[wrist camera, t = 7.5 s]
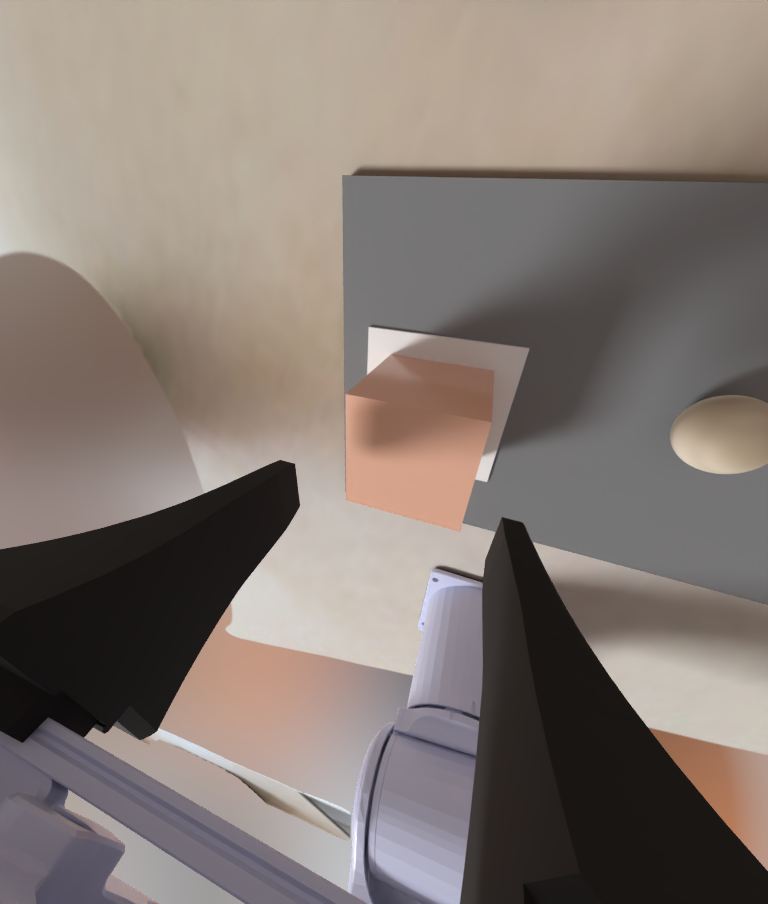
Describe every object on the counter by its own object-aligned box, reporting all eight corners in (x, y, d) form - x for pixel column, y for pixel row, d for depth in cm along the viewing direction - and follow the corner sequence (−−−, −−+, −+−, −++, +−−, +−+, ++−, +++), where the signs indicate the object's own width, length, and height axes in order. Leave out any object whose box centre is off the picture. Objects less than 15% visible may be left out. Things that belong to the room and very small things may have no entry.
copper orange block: (470, 459, 18) (459, 531, 13) (384, 440, 19) (346, 500, 15) (494, 370, 15) (491, 422, 10) (390, 354, 16) (345, 394, 12)
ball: (721, 455, 14) (770, 498, 12) (643, 441, 15) (672, 479, 12) (773, 391, 12) (844, 425, 10) (682, 378, 13) (726, 406, 11)
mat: (781, 600, 18) (792, 613, 17) (348, 486, 24) (344, 493, 23) (1337, 197, 8) (1412, 192, 7) (347, 178, 14) (340, 174, 13)
